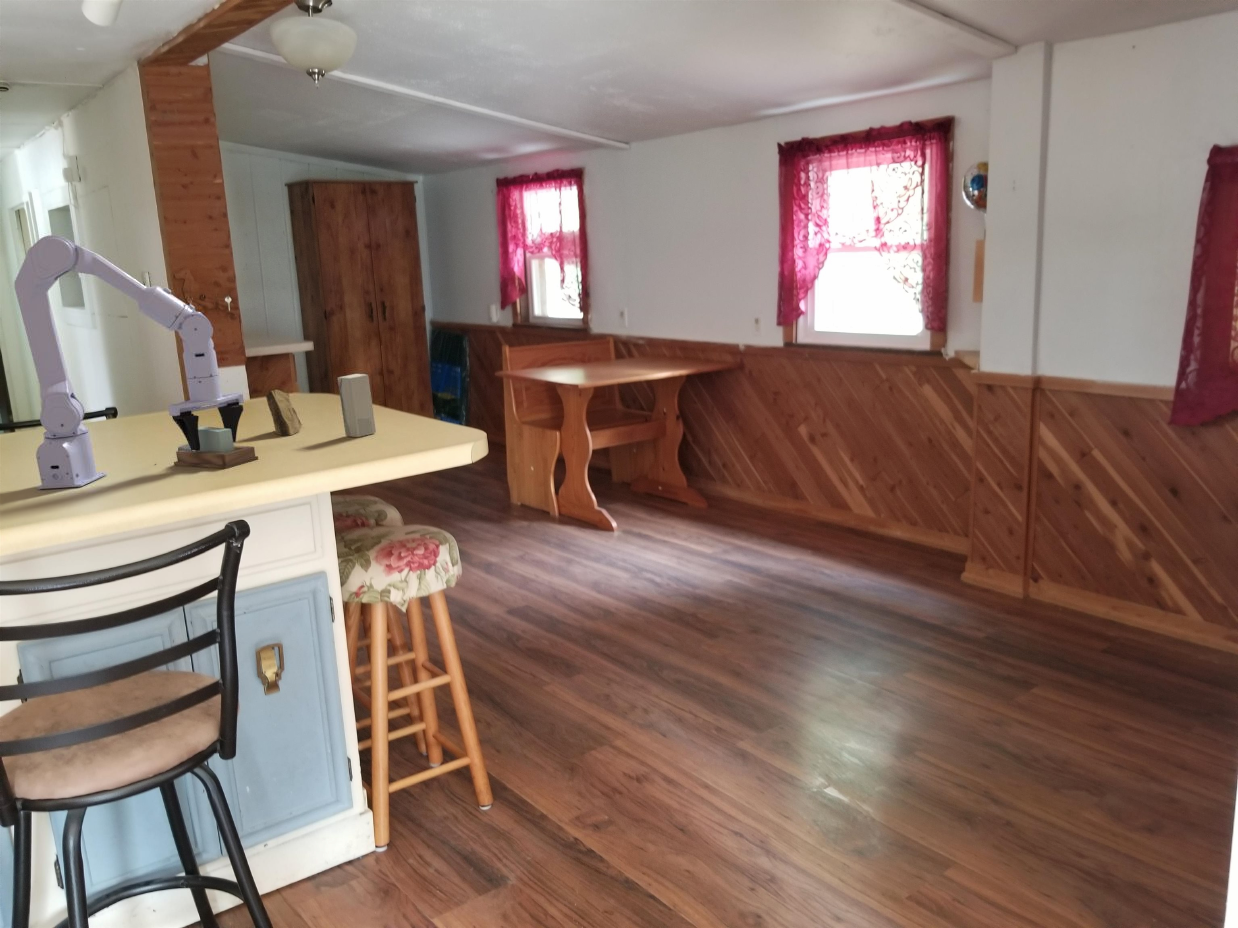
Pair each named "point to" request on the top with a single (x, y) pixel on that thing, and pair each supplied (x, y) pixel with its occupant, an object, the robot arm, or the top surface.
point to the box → (356, 405)
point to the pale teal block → (215, 439)
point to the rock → (283, 413)
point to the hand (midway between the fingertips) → (213, 446)
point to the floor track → (216, 458)
